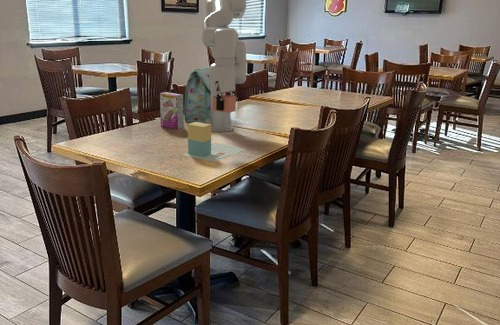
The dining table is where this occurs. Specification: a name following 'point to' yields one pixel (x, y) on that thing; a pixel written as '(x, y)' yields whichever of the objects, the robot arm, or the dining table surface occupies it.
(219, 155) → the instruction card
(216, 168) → the dining table surface
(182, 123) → the candy bar box
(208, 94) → the lunch bag
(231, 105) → the brick
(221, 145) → the mat
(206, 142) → the tower base
